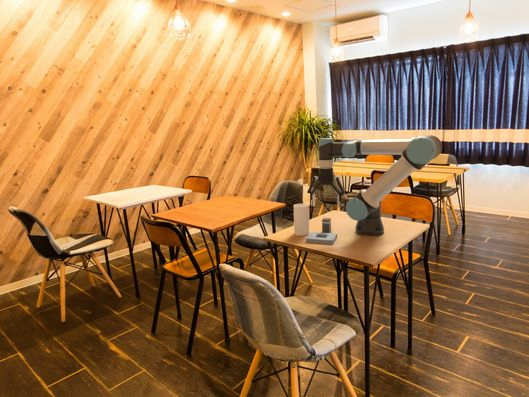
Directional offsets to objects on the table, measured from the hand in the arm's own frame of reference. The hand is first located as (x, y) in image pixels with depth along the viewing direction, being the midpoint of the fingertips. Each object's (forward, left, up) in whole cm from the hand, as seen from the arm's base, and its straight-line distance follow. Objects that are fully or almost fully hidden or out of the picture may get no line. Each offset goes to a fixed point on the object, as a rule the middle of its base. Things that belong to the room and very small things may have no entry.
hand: (326, 206), depth 212 cm
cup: (+13, +4, -15) cm, 20 cm away
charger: (0, 0, -15) cm, 15 cm away
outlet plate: (0, +12, -15) cm, 19 cm away
